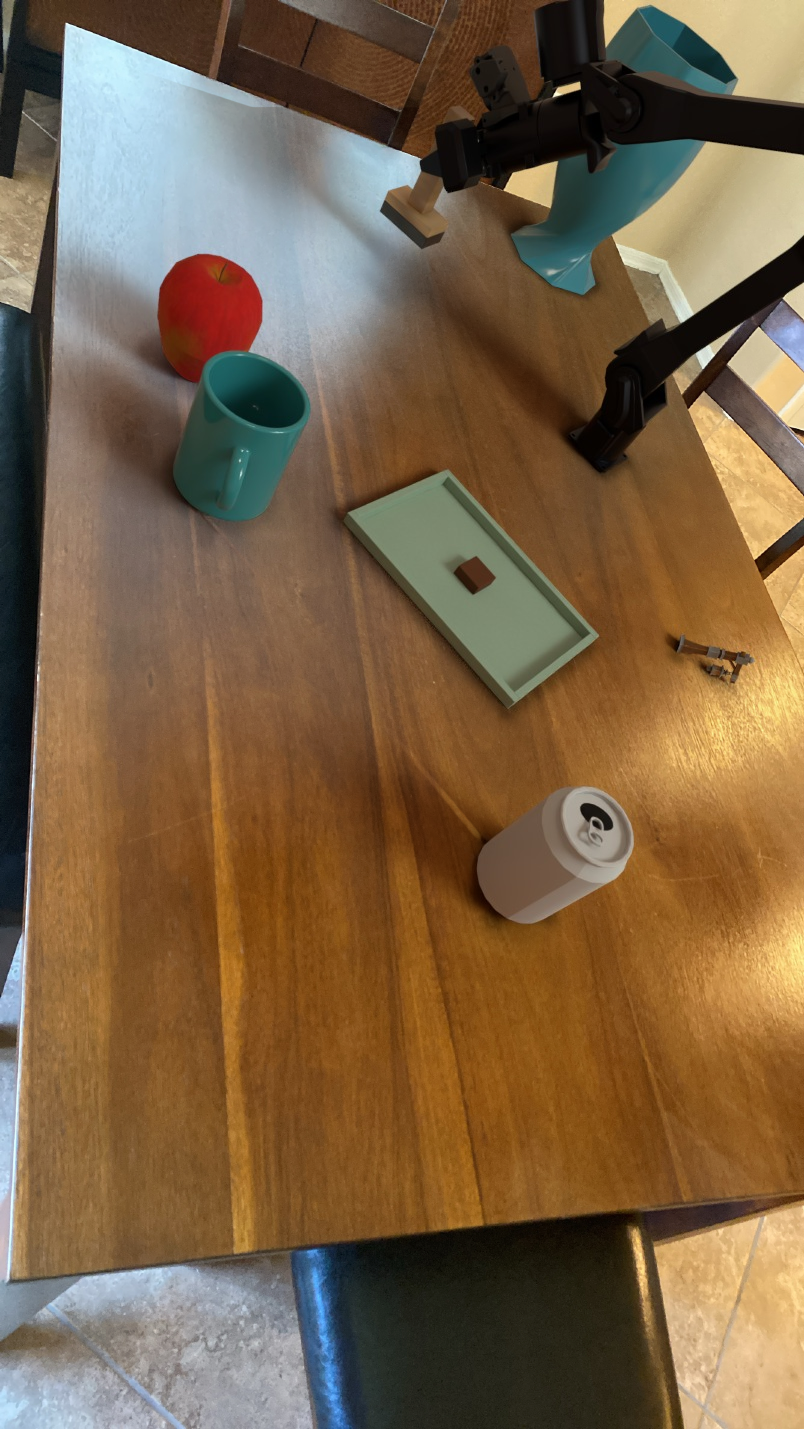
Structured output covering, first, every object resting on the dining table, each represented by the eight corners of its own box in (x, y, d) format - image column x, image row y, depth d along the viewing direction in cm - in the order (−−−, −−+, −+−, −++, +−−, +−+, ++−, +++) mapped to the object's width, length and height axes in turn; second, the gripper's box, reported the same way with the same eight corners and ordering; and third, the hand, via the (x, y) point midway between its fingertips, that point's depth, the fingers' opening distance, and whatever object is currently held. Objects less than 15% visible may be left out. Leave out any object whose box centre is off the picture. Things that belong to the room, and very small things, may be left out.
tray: (440, 480, 92) (447, 468, 91) (589, 645, 89) (599, 635, 88) (340, 524, 82) (347, 512, 81) (504, 711, 80) (514, 702, 78)
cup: (155, 529, 73) (187, 430, 64) (180, 434, 79) (211, 333, 71) (259, 563, 76) (302, 473, 67) (274, 469, 82) (315, 376, 74)
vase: (522, 281, 122) (660, 54, 100) (491, 207, 130) (613, -20, 107) (615, 312, 131) (763, 108, 108) (581, 239, 138) (712, 35, 115)
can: (558, 865, 73) (649, 807, 64) (540, 943, 69) (636, 893, 60) (484, 823, 72) (566, 758, 63) (460, 900, 67) (545, 842, 58)
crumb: (470, 562, 87) (476, 555, 86) (490, 584, 87) (496, 577, 86) (453, 572, 85) (458, 565, 84) (473, 595, 85) (479, 588, 84)
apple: (229, 345, 88) (265, 238, 79) (248, 410, 85) (287, 306, 76) (136, 329, 84) (163, 213, 74) (152, 397, 80) (182, 284, 71)
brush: (440, 242, 108) (495, 131, 97) (421, 249, 105) (476, 136, 94) (398, 205, 108) (449, 90, 97) (379, 211, 105) (429, 93, 94)
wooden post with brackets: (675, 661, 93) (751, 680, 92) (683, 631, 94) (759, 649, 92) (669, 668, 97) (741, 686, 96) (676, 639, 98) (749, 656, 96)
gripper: (575, 34, 94) (453, 74, 103) (495, 42, 82) (364, 87, 91) (586, 153, 100) (470, 182, 109) (513, 177, 88) (389, 207, 97)
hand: (426, 164), depth 101 cm, fingers closed on brush, 2 cm apart
